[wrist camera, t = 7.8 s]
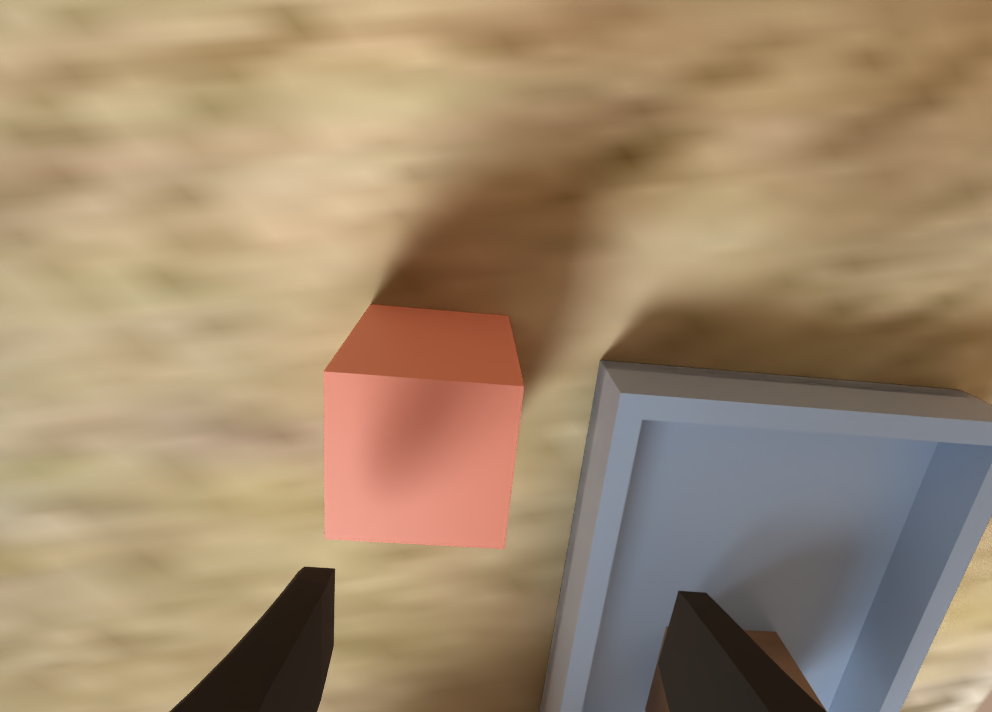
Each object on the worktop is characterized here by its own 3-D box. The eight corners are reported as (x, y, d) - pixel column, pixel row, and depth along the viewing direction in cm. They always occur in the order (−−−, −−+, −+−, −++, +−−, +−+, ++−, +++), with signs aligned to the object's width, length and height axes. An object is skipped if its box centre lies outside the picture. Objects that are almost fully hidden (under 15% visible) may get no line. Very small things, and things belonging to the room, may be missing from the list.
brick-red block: (495, 436, 20) (504, 548, 14) (368, 428, 19) (325, 538, 14) (508, 315, 18) (524, 386, 13) (370, 304, 18) (323, 371, 12)
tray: (813, 746, 26) (851, 814, 23) (534, 737, 25) (542, 806, 22) (958, 389, 20) (1033, 425, 17) (600, 360, 19) (620, 392, 16)
